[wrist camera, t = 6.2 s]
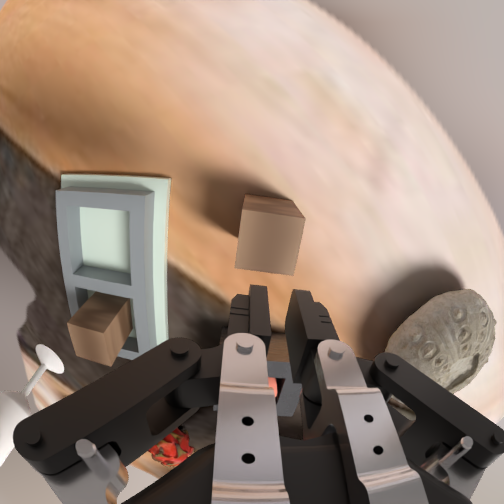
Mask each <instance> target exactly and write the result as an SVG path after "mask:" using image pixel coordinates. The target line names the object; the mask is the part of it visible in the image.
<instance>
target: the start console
mask: <svg viewBox="0 0 504 504" xmlns="http://www.w3.org/2000/svg"><path fill="white" fill-rule="evenodd" d="M227 333H228V327H222V331H221V337H220V343H219V345H221V344H222V343H224V341H225V339H226V338H227ZM266 361H267V372H268V377H272V378H276V382H277V396H276V397H275V402H276V411H277V416H293V413H294V411H295V409H296V406H297V404H298V402H299V395H300V393H301V390H302V384H297V383H293V380H292V374H291V367H290V360H289V354H288V347H287V341H286V335H285V333H274V332H271V341H270V345H269V350H268V354H267V358H266ZM213 411H218V405H214V407H213Z"/></svg>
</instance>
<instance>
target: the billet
mask: <svg viewBox="0 0 504 504" xmlns="http://www.w3.org/2000/svg"><path fill="white" fill-rule="evenodd" d="M67 325H68V329H69V333H70V336H71V340H72V343H73V346H74V349H75V353H76V356H79V357H82V358H85V359H88V360H91V361H94V362H97V363H101V364H104V365H107V366H112V364H113V363H114V361H115V359H116V357H117V355H118V354H119V352H120V350H121V348H122V347H123V345H124V343H125V341H126V340H127V338H128V336H129V335H130V333H131V331H132V329H133V323H132V315H131V305H130V298H126V297H121V296H116V295H111V294H106V293H101V292H97V291H95V292H94V294H93V295H92V296H91V297H90V298H89V299H88V300H87V301H86V302H85V303H84V304H83V305H82V306H81V308H80V309H79V310H78V311H77V312H76V313H75V314H74V315H73V316H72V318H71V319H70V320H69V321H68V322H67Z"/></svg>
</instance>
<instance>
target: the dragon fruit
mask: <svg viewBox="0 0 504 504" xmlns="http://www.w3.org/2000/svg"><path fill="white" fill-rule="evenodd" d="M188 443H189V435H188V431H187V430H183V431H182V432H181V431H180V430H179V429H178V428H176V429H175V430H174V431H172V432H171V433H170V434H169V435H167V436H166V437H165V438H164V439H162V440H161V441H160V442H159V443H157V444H156V445H155V446H153V447H152V448H151V449H149V450H148V452H150V453H152V458H153V459H154V460H155V461H158V462H161V464H162V465H163V466H166V467H171V466H173V467H176V466H178V465H179V464H180V463H182V462H183V461H184V460H186V459H187V458H188V456H189V455H191V454H192V453H193V452H195V448H194V447H191V446H189V445H188Z"/></svg>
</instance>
